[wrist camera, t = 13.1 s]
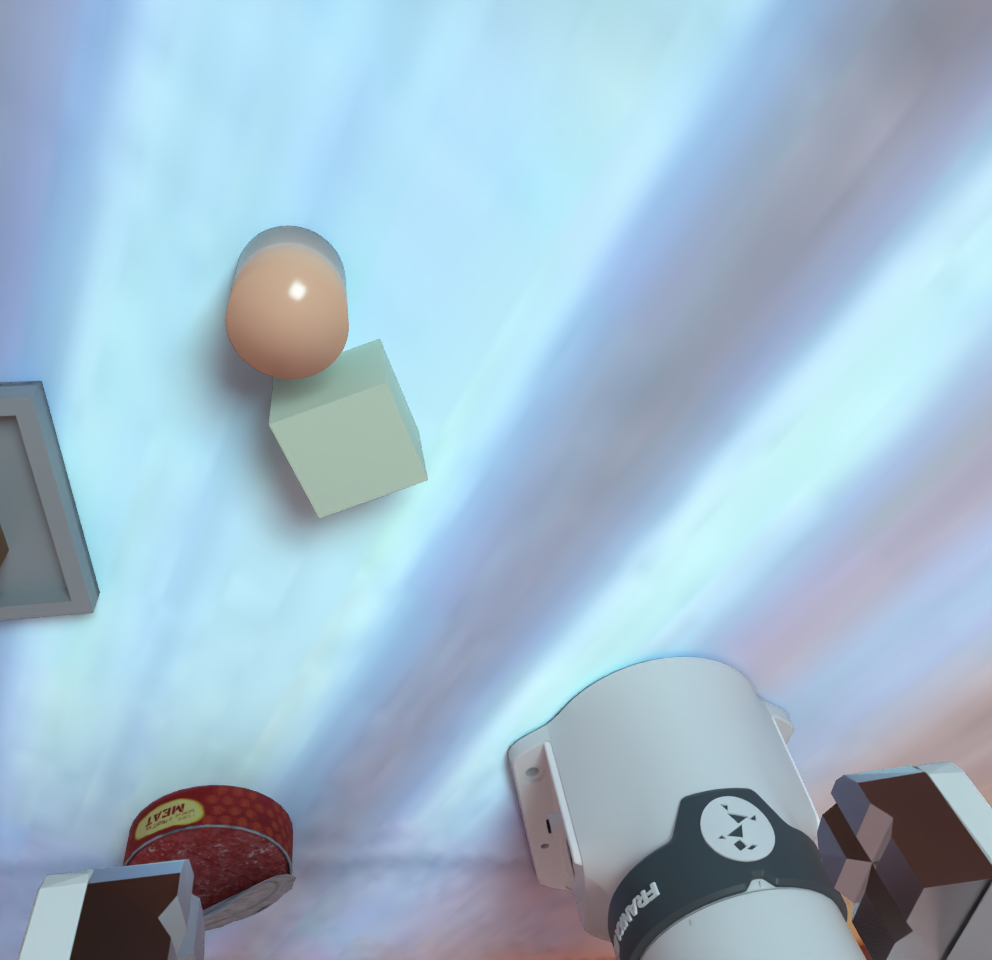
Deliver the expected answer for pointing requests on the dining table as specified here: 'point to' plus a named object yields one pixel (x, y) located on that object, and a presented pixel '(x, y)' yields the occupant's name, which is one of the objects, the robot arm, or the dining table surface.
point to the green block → (348, 431)
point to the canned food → (219, 847)
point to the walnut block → (3, 546)
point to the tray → (38, 514)
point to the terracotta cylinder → (288, 303)
